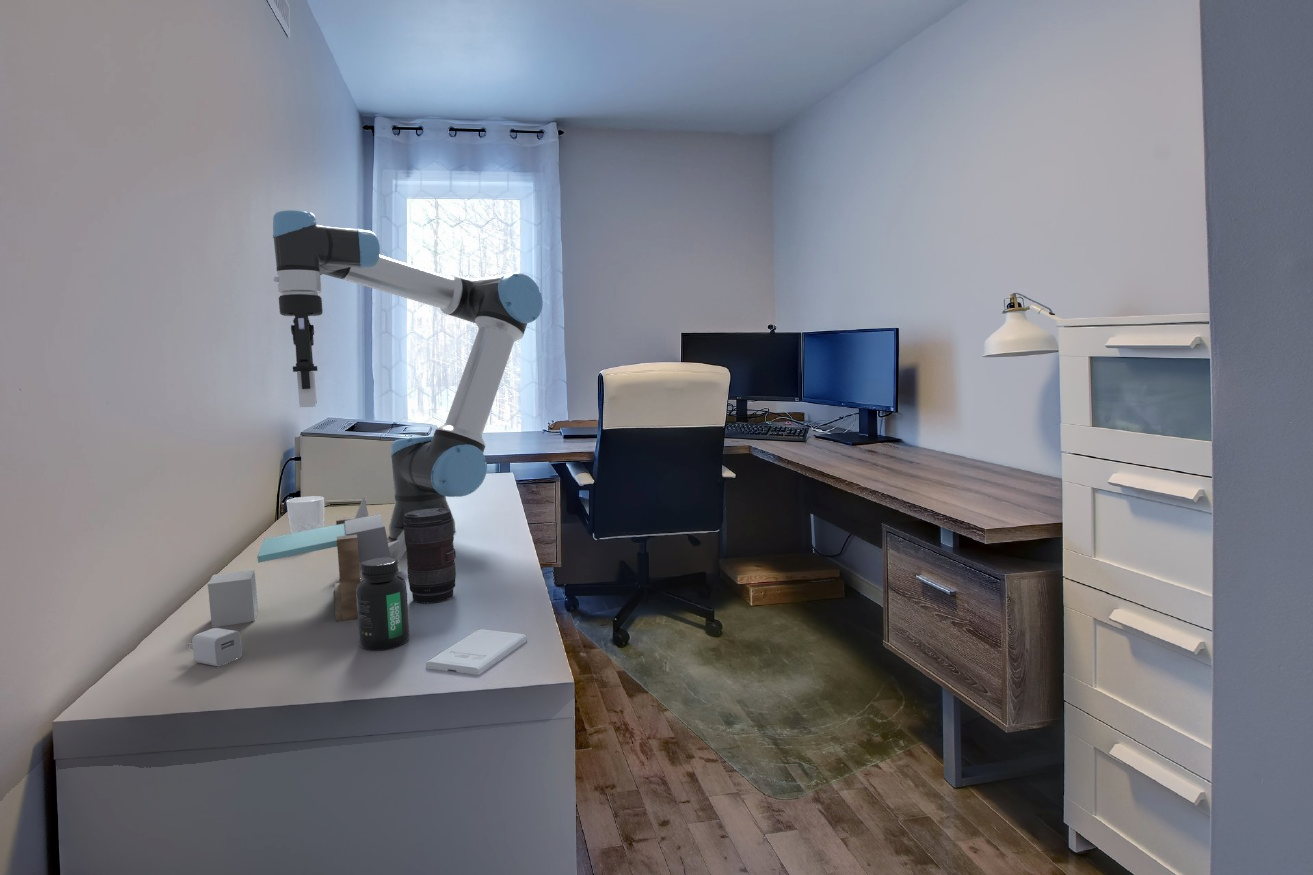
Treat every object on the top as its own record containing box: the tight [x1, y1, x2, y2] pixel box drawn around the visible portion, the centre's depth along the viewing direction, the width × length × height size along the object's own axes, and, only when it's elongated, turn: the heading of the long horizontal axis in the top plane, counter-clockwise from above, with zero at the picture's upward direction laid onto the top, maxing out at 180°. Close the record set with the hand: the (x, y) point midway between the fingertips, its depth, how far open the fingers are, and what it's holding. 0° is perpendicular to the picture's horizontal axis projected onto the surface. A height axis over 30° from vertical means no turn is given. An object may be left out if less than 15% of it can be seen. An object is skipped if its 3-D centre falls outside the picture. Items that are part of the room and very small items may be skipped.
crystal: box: [354, 496, 407, 578], centre depth 150 cm, size 10×13×15 cm
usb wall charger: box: [186, 627, 243, 667], centre depth 107 cm, size 4×7×4 cm, turn 66°
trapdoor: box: [256, 513, 390, 563], centre depth 129 cm, size 19×13×5 cm
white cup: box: [286, 495, 325, 534], centre depth 178 cm, size 8×8×10 cm
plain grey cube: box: [207, 569, 259, 628], centre depth 124 cm, size 6×6×7 cm
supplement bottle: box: [356, 558, 410, 651], centre depth 111 cm, size 7×7×12 cm
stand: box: [334, 516, 364, 622], centre depth 130 cm, size 5×19×13 cm, turn 23°
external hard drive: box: [425, 628, 528, 676], centre depth 106 cm, size 2×8×12 cm
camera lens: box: [403, 508, 457, 604], centre depth 132 cm, size 8×8×15 cm
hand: (308, 405), depth 150 cm, fingers open, 13 cm apart
